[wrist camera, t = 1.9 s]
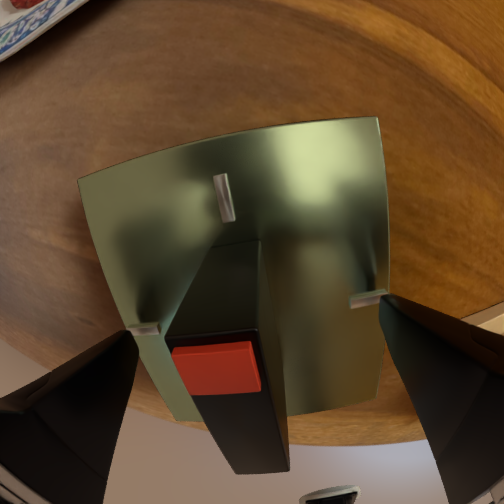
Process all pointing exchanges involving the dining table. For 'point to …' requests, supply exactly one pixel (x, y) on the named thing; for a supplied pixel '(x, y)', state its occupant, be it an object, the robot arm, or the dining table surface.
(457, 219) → the dining table surface
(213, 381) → the red-capped black block
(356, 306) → the panel
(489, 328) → the button block
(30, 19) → the ceramic plate
